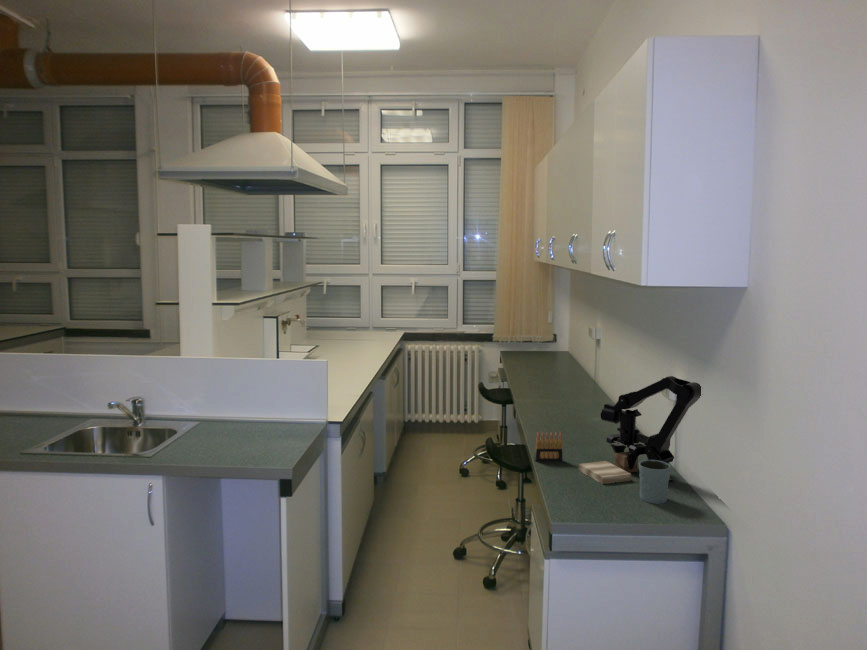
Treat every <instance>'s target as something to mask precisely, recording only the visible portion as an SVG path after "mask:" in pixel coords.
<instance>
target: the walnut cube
mask: <svg viewBox="0 0 867 650" xmlns="http://www.w3.org/2000/svg"><path fill="white" fill-rule="evenodd" d="M626 452H627V451H624V452H619V453H615V452H614V465H615V466H617V467H619V468H621V469H623V470H625V471H627V472H629V473H635V472H636V473H637V472H638V470H639V457H638V458H637V459H636V462H635V464H634V466H633V469H629V465H628V460H627V455H626Z"/></svg>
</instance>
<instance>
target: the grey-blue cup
mask: <svg viewBox="0 0 867 650" xmlns="http://www.w3.org/2000/svg"><path fill="white" fill-rule="evenodd" d="M671 468H672V467H671V464H670V463H669V464H668V463H666V462H663V461H658V460H648V459H643V460H640V461H638V471H639V475H638V476H639V498H640V500H641V501H643V502H645V503H649V504H655V505H656V504H658V505H659V504H664V503H667V501H668V500H667V499H668V489H669V482H670V481H669V478H671V477H670V476H671Z"/></svg>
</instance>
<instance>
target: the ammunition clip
mask: <svg viewBox="0 0 867 650" xmlns="http://www.w3.org/2000/svg"><path fill="white" fill-rule="evenodd" d="M544 433H545V434H544ZM535 438H536V440H535V454H534V461H535V462H541V463H542V462H544V463H546V462H549V463H550V462H563V434H562V431H561V430H559V434H558V432H557V431H554V435H553V431H550V433H549V432H548V431H546V432H544V430H542V431H541V434H540V430H539V431H538V430H537V433H536V437H535Z"/></svg>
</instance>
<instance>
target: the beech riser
mask: <svg viewBox="0 0 867 650" xmlns="http://www.w3.org/2000/svg"><path fill="white" fill-rule="evenodd" d="M578 471H579V472H581V473H583V474H584V475H586V476H587V475H588V477H589V478H591V479H592V480H595V481H596V482H598V483H599V482H600V483H599V484H602V485H606V484H615V482H616V483H623V482H630V481H632V473H631V472H627V471H625V470H623V469H621V468H619V467H617V466H615V464H613V463H611V462H610V461H607V460H603V461H593V462H583V463H578Z"/></svg>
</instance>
